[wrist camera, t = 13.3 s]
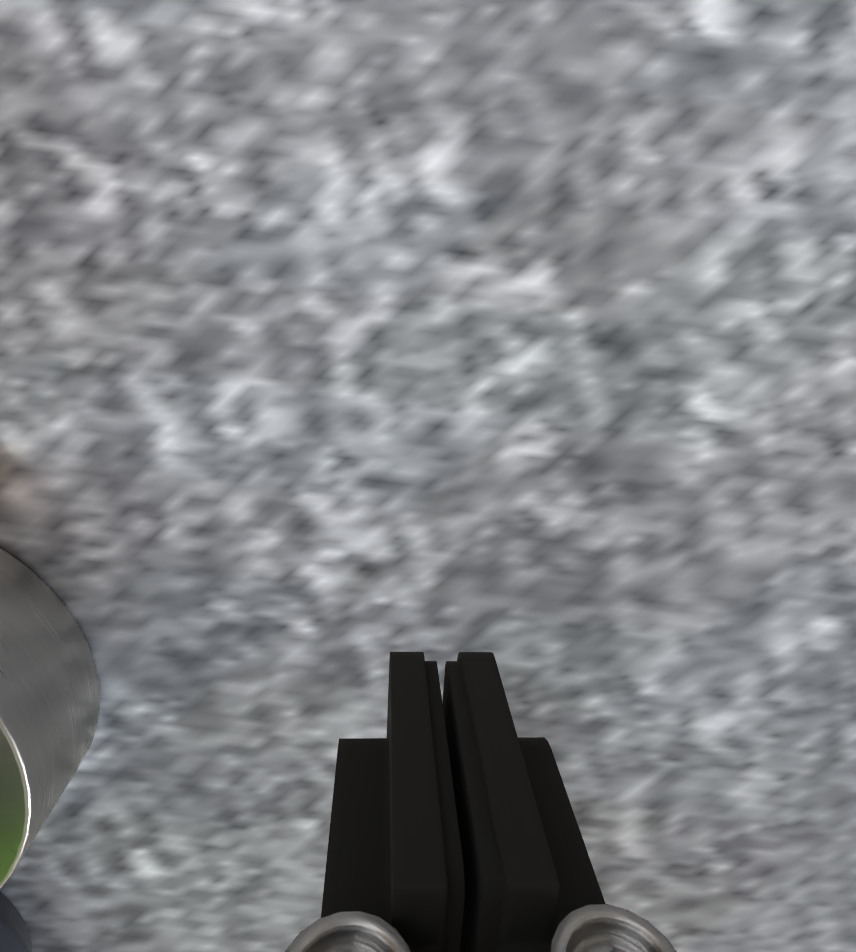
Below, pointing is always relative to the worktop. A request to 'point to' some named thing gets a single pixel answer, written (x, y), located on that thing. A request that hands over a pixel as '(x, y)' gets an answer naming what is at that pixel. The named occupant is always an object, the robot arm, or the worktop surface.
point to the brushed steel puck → (38, 705)
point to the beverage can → (12, 929)
